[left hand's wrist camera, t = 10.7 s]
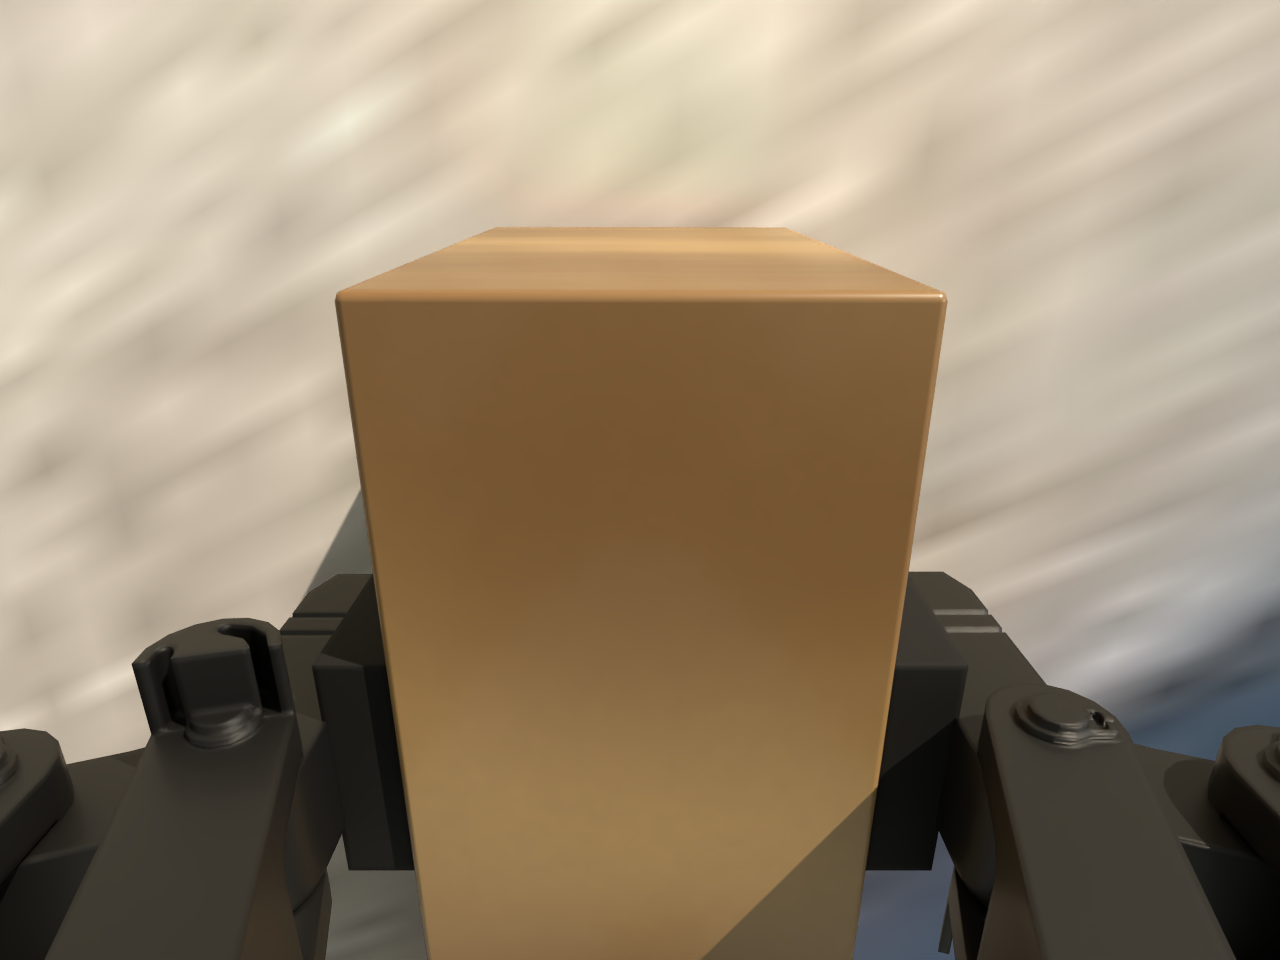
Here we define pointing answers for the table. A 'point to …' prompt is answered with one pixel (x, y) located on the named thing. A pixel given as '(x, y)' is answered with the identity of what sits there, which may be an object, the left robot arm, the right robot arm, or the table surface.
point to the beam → (640, 579)
